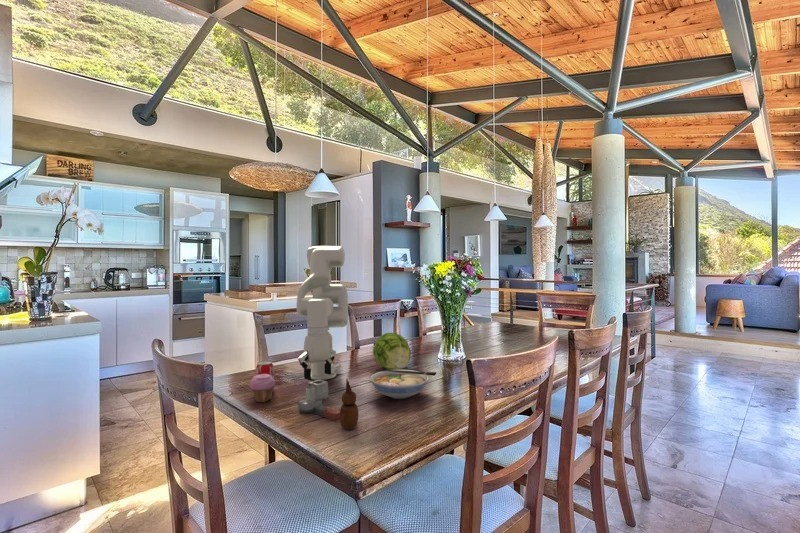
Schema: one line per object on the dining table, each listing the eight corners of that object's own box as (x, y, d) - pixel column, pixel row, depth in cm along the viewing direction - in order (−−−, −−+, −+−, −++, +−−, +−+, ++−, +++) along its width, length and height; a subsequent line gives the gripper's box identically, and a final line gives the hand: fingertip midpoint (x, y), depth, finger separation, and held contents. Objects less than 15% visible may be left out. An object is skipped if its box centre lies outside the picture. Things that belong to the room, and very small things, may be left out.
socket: (319, 394, 161) (319, 379, 161) (328, 397, 157) (327, 381, 157) (308, 398, 157) (308, 382, 157) (317, 401, 153) (317, 385, 153)
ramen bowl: (357, 402, 152) (357, 380, 152) (381, 384, 174) (381, 365, 173) (421, 410, 143) (421, 386, 143) (438, 390, 165) (438, 370, 165)
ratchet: (312, 404, 150) (312, 383, 150) (348, 416, 138) (347, 393, 138) (293, 410, 144) (293, 388, 144) (329, 423, 132) (329, 399, 132)
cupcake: (264, 405, 149) (264, 378, 149) (245, 403, 152) (244, 376, 152) (279, 398, 157) (279, 372, 157) (261, 395, 160) (260, 370, 160)
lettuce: (380, 378, 184) (388, 342, 182) (366, 359, 205) (373, 326, 204) (415, 381, 190) (423, 346, 189) (397, 362, 212) (405, 330, 210)
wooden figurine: (340, 423, 132) (340, 377, 132) (358, 422, 132) (358, 376, 132) (339, 432, 125) (338, 383, 125) (358, 431, 126) (357, 382, 125)
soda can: (268, 395, 160) (268, 365, 160) (252, 394, 162) (251, 364, 161) (277, 390, 167) (277, 360, 167) (261, 389, 168) (261, 360, 168)
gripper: (328, 328, 166) (329, 371, 165) (292, 333, 152) (292, 379, 152) (341, 329, 161) (341, 373, 160) (305, 334, 148) (305, 382, 147)
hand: (317, 376), depth 156 cm, fingers open, 9 cm apart
